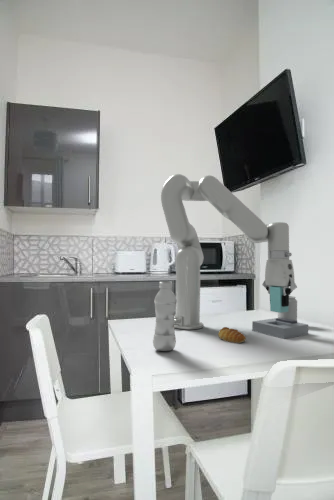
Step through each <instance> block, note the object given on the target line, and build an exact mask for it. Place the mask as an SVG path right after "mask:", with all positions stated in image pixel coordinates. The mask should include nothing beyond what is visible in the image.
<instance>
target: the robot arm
mask: <svg viewBox="0 0 334 500" xmlns="http://www.w3.org/2000/svg"><path fill="white" fill-rule="evenodd" d="M160 193H161V194H160V201H161V205H162V206H161V207H162V210H163V214H164V217H165V218H164V219H165V221H166V225H167V228H168V232H169V235H170V238H171V240H172V242H174V243H175V244H176V245H177V248H178V251H177V253H176V255H175V278H176V279H175V296H176V299H177V303H176V309H175V318H174V329H178V330H179V329H180V330H200V329H203V328H204V322H201V320H200V319H201V318H200V317H201V316H200V315H201V266H202V265H203V262H204V259H205V258H204V253H203V251H202V250H203V249H202V247H201V243H200V240H199V237H198V233H197V231H196V228H195V227H194V226H193V225H192V224H191V223H190V221H189V218H188V216H187V211H186V208H185V206H184V202H183V201H185V202H209V204H211V206H212V207H214V208H215V210H217V211H218V212H219V213H220V214H221V215H222V216H223V217H224V218H226V219H227V220H229V221H231V223H233V225H235V226H236V227H237V228H238V229H239V230H240V231H241V232H242V233H243V234H244V235H245V236H246V237H247V239H248V240H249V241H250V242H252V243H255V244H260V243H267V260H266V263H265V267H264V268H265V270H264V271H265V273H264V281H263V283H262V286H263V287H264V289H265V290H266V291H267V294H269V295H270V287H274V286H276V287H282V292H283V295H282V306H283V307H285V306H289V296H291V293H292V292H293V291H294V290H296V289H297V288H298V286H297V284H296V283H295V271H294V265H293V260H292V259H290V257H292V256H293V255H292V254H293V253H292V252H290V226H289V224H288V223H287V222H283V221H282V222H281V221H279V222H271V223H269V224H266V223H265V222H264V221H263V220H262V219H260V218H259V217H258V216H257V215H256V214H255V213H254V212H253V211H252V210H251V209H250V208H249V207H248V206H246V205H245V204H244V203H243V202H242V201H241V200H240V199H239V198H238V197H237V196H236V195H235V194H234V193H233V192H231V191H230V189H229V188H227V186H225V185H224V184H223V183H222V182H221V181H220V180H219V179H218V178H217V177H215V176H214V175H210V174H209V175H204V176H203V177H202V178H201V179H200V180H199V181H196V180H195V181H194V180H192V181H191V180H190V179H189V178H188V177H187V176H186V175H183V174H179V173H177V174H173V175H171V176H169V178H168V179H167V180H166V181H165V183H164V184H163V186H162V189H161V191H160ZM285 288H286V289H285Z"/></svg>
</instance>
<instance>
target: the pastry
mask: <svg viewBox="0 0 334 500" xmlns="http://www.w3.org/2000/svg"><path fill="white" fill-rule="evenodd" d="M217 335H218V338H219V339H220V340H223V341H225V342H229V343H234V344H236V343H238V344H241V343H244V342H246V340H247V338H246V336H245V335H244V333H242V332H240V331H239V330H238V329H236V328H235V329H234V328H230V327H227V326H224V327H222V328H220V330H219V331H218V334H217Z"/></svg>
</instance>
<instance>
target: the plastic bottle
mask: <svg viewBox="0 0 334 500" xmlns="http://www.w3.org/2000/svg"><path fill="white" fill-rule="evenodd" d="M158 283H159V285H158V288H159V290H158V292H157V293H156V294H155V297H154V301H153V302H154V309H155V310H154V311H155V326H154V334H153V339H152V344H153V348H154V349H155V350H156V351H160V352H170V351H173V350H174V349H175V347H176V344H177V339H176V334H175V327H174V318H175V314H176V303H177V299H176V293H174V292H173V281H167V280H165V281H164V280H163V281H159V282H158Z"/></svg>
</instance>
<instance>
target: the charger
mask: <svg viewBox="0 0 334 500" xmlns="http://www.w3.org/2000/svg"><path fill="white" fill-rule="evenodd" d="M285 289H286V288H285ZM282 295H283V292H282V287H276V286H274V287H270V294H269V307H270V308H269V309H270V310H269V311H270V312H274V313H278V312H279V313H282V312H288V306H285V307H283V306H282Z"/></svg>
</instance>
